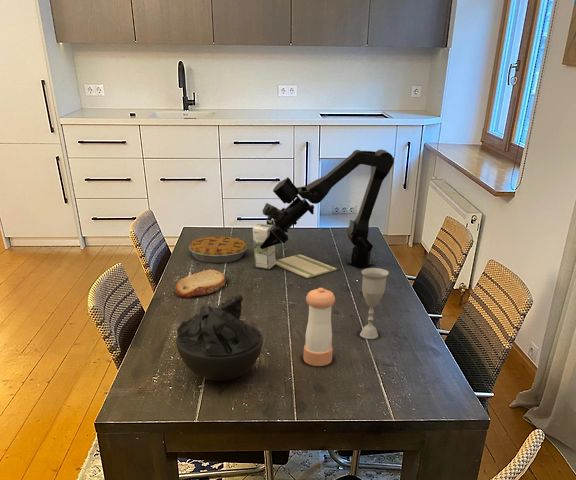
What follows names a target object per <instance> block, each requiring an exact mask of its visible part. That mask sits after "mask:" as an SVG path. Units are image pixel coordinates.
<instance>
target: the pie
mask: <svg viewBox="0 0 576 480" xmlns="http://www.w3.org/2000/svg"><path fill="white" fill-rule="evenodd" d="M247 249H248V244H247V242H246V241H245V240H243V239H241V238H239V237H232V236H229V235H226V236H222V235H216V236H205V237H198V238H196V240H195V239H193V240H191V243H189V245H188V251H190V252H191V254H192V256H193V258H195V259H196V260H197V261H200V262H205V263H214V264H217V263H218V264H220V263H230V262H236V261H238V260H240V259H241V258H242V257H244V254H245V252H246V250H247Z"/></svg>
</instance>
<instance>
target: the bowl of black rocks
mask: <svg viewBox="0 0 576 480" xmlns="http://www.w3.org/2000/svg"><path fill="white" fill-rule="evenodd" d="M243 298H244V297H243V295H242V294H238V295H236V296H233V297H231V298H229V299H227V300H225V301H224V302H221V303H220V304H218V305H217V306H216V307H213V306H211V305H206V306H205V305H204V304H201V306H200V308H199V310H198V311H199V312H198V313H196V314H194V315H193V316H191V317H190V318H188V319H187V320H182V321H181V323H180V324H179V325H178V327H177V329H176V335H177V336H176V340H175V344H176V349H177V352H178V354H179V356H180V358H181V360H182V362H183V364H184V365H185V366H186V367H187V368H188V369H189V371H191V372H193V373H194V374H195V375H197V376H199V377H201V378H202V379H204V380H205V379H206V380H208V381H213V382H227V381H231V380H235V379H238V378H240V377H241V376H243V375H244V374H246V373H247V372H248V371H249V370H251V368H252V367H254V365H255V364H256V362H257V361H258V359H259V357H260V355H261V353H262V349H263V344H264V337H263V333H261V331H260V330H258V328H256V327H255V326H252V325H250V324H248V323H246V322H245V321H244V320H241V319H240V318H241V316H242V309H243V306H242V302H243V300H244V299H243Z"/></svg>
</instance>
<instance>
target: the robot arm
mask: <svg viewBox="0 0 576 480" xmlns="http://www.w3.org/2000/svg"><path fill="white" fill-rule="evenodd" d="M394 163H395V159H394V156H393V154H391V153H390V152H388V151H387V150H385V149H382V148H381V149H377V150H376V151H373V150H360V149H355V150H353V152H351V154H350V155H348V157H346V158H345V159H344V160H342V161H341V162H340V163H339V164H338V165H336V166H335V167H334V168H333V169H331V170H330V171H329V172H328V173H326V174H325V175H324V176H321V177H320V178H317V179H314V180H313V181H312V182H310V183H308V184H307V185H305V186H296V185H295V184H294V183H293V182H292V180H291V178H289V176H287V177H286V178H284V179H282V180H281V181H279V182H278V183H277V184H276V185H275V186H274V188H273V189H272V192H273V193H274V194H275V196H277V198H279V200H280V201H281V202H282V203H283V204H287V205H288V206H286V207H282V208H281V209H280V208H278V207H276V206H275V205H272V204H270V203H268V202H266V203H265V205H264V207H263V208H262V211H261V213H262V214H263V215H264V216H265V217H266V218H267V219H266V224H268V225H273V226H272V228H271V229H269V236H268V237H267V238H266V239H265V241H264V242H263V243H262V245H261V246H260V248H261V249H264V248H267V247H270V246H273V245H275V246H277V245H279V244H285V243H287V242H288V241H289V234H288V232H289V230H290V228H291V227H293V226H296V225H297V224H298V221H299V220H300V219H301V218H302V217H303V216H305V214H307V212H309V213H310V214H311V215H314V213H315V205H317V204H319V203H321V202H322V201H323V200H324V199H325V198H326V196H327V195H328V194H329V192H330V191H331V190H332V188H333V187H335V185H337V184H338V183H339V182H340V181H342V180H343V179H344V178H346V176H348V175H349V174H350V173H352V171H354V170H355V169H356V168H357V167H359V166H360V165H365V166H368V167H370V176H369V180H368V182H367V186H366V189H365V191H364V195H363V199H362V201H361V204H360V207H359V210H358V213H357V216H356V217H355V219H354V220H352V219H350V220H349V223H348V227H347V229H346V231H347V238H348V239H349V241H350V243H352V245H353V248H352V252H351V261H348V265H350V266H354V267H356V268H359V269H363V268H366V267H370V266H373V265H374V263H373V262H370V261H371V252H372V250H373V247H374V246H373V245H374V244H372V242H371V241H370V240H369V239H368V237H369V232H370V219H371V217H372V213H373V211H374V208H375V206H376V205H375V204H376V202H377V199H378V196H379V193H380V189H381V187H382V185H383V182H384V180H385V179H386V178H387V176H388V175H389V173H390V171H391V170H392V168H393V166H394ZM307 200H308V201H307ZM314 204H315V205H314Z"/></svg>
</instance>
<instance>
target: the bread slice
mask: <svg viewBox="0 0 576 480" xmlns="http://www.w3.org/2000/svg"><path fill="white" fill-rule="evenodd" d="M226 282H227V280H226V276H225V274H224V273H223V272H221V271H219V270H216V269H208V270H202V271H199V272H196V273H194V274H191V275H188V276H186V277H182V278H180V279H179V280H178V281H177V283H176V285H175V287H174V291H175V293H176V294H177V296H178V297H180V298H186V299H191V298H194V297H202V296H207V295H210V294H213V293H215V292H218V291H219V290H220V289H221V288H223V287H224V286H225V284H226Z"/></svg>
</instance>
